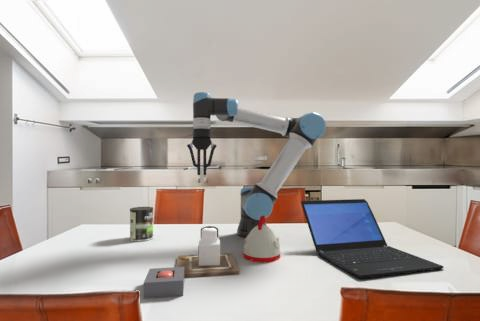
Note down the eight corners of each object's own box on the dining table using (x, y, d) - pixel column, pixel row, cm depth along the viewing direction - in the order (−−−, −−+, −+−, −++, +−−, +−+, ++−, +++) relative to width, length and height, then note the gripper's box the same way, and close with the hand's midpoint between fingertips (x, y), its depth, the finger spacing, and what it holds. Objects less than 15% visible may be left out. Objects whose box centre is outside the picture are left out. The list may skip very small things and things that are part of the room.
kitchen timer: (283, 252, 111) (283, 214, 111) (276, 264, 98) (276, 221, 98) (249, 249, 115) (249, 212, 116) (238, 260, 102) (238, 218, 103)
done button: (173, 280, 81) (173, 270, 81) (172, 286, 77) (172, 275, 77) (158, 281, 80) (159, 271, 81) (157, 287, 77) (157, 276, 77)
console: (184, 280, 85) (184, 266, 85) (183, 295, 75) (183, 280, 75) (149, 282, 83) (149, 268, 83) (143, 298, 73) (143, 282, 73)
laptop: (358, 282, 84) (358, 217, 84) (299, 246, 120) (299, 200, 121) (445, 271, 93) (445, 212, 93) (366, 240, 129) (366, 198, 129)
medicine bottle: (199, 259, 100) (199, 225, 100) (219, 258, 101) (219, 224, 101) (198, 266, 93) (198, 229, 93) (220, 265, 94) (220, 229, 94)
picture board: (232, 255, 107) (232, 252, 107) (239, 274, 89) (239, 269, 89) (178, 258, 104) (178, 254, 104) (174, 278, 86) (174, 273, 86)
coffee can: (157, 236, 135) (157, 206, 135) (144, 242, 125) (144, 210, 125) (138, 235, 137) (138, 206, 138) (124, 240, 128) (124, 209, 128)
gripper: (186, 127, 119) (186, 183, 119) (217, 128, 121) (217, 183, 121) (186, 129, 126) (186, 182, 126) (216, 130, 128) (216, 182, 128)
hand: (201, 182), depth 123 cm, fingers closed
